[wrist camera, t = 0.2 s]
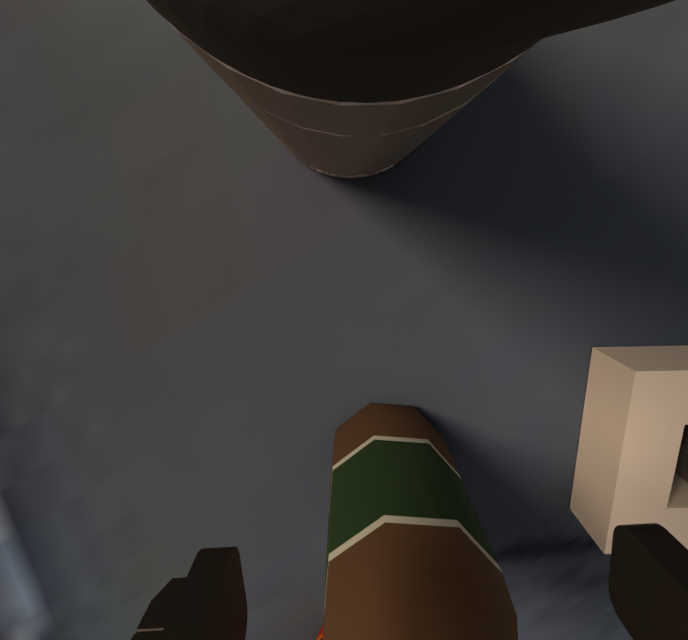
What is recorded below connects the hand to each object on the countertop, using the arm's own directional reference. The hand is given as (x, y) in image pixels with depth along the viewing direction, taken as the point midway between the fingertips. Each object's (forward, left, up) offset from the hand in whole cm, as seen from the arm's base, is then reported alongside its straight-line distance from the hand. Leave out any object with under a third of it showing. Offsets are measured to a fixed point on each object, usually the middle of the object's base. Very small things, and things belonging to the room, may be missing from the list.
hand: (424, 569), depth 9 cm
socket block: (+7, +20, -18) cm, 28 cm away
